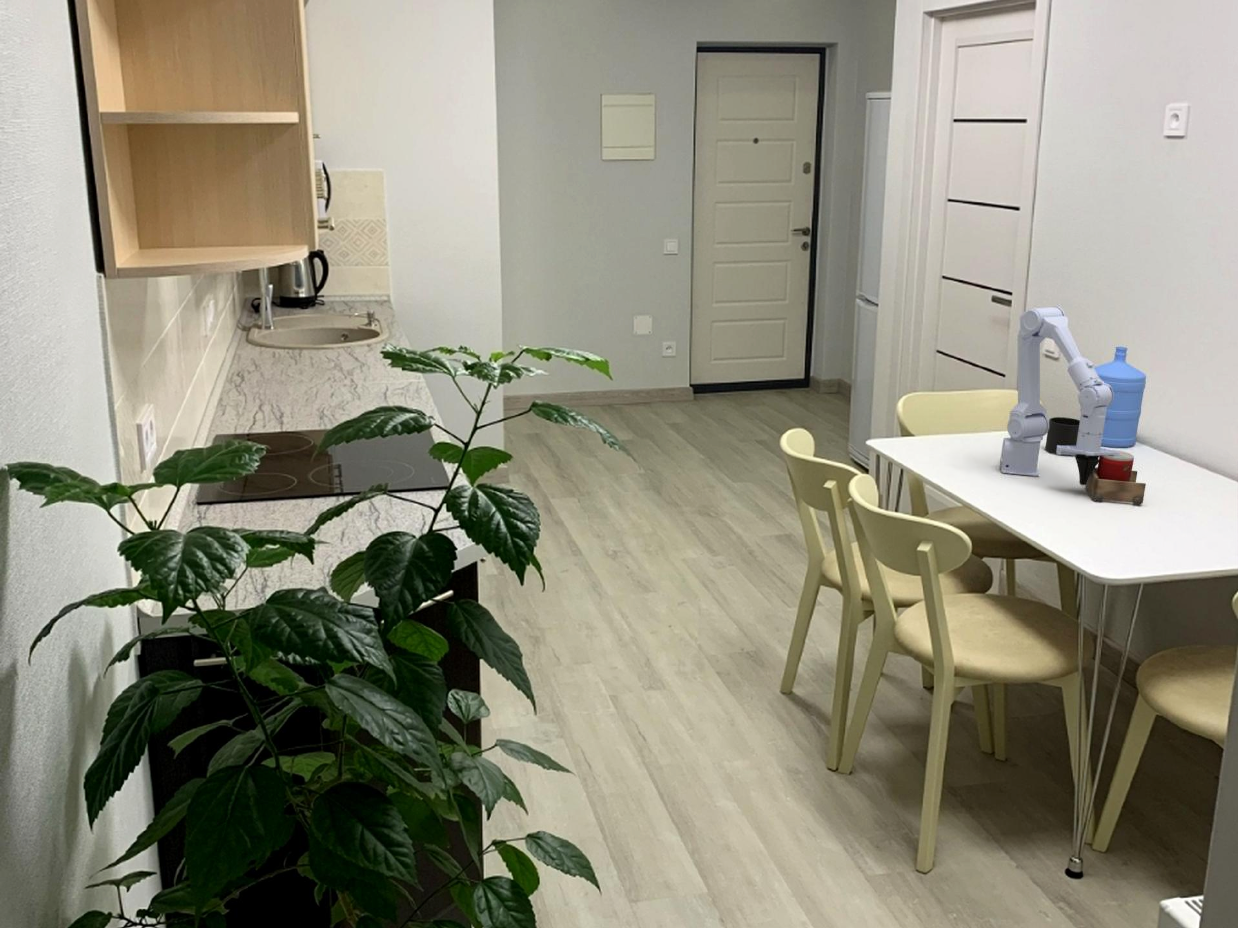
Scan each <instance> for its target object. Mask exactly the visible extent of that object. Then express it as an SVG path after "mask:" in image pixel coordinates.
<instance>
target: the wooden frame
mask: <svg viewBox="0 0 1238 928" xmlns="http://www.w3.org/2000/svg"><path fill="white" fill-rule="evenodd" d="M1097 469H1098V466H1096V467H1095V468H1094V469H1093V471H1092V472H1091V474H1090V476H1089V478H1088V480H1087V483H1086V485H1084V486H1085V488H1086V490H1087V491H1088V494H1089V496H1090V497H1091V499H1092V500H1094V501H1095V502H1097V503H1100V502H1102V501H1111V502H1121V503H1123V502H1124V503H1133V505H1134V506H1136V507H1138V506H1140V505H1142V504H1143V503H1144V499H1145V498H1144V496H1145V493H1146V492H1145V491H1146V484H1147V483H1145V482H1137V478H1138V477H1137V476H1138V471H1137V470H1132V473H1131V479H1130V482H1125V481H1114V480H1104V479H1099V477H1098V476H1097Z"/></svg>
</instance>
